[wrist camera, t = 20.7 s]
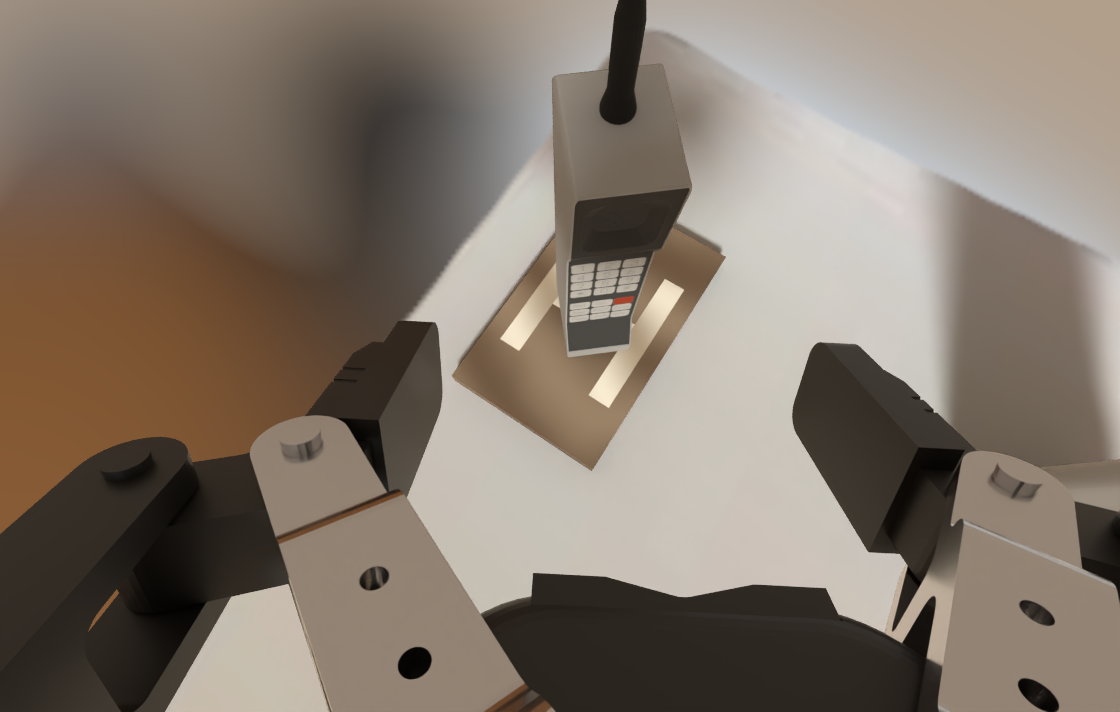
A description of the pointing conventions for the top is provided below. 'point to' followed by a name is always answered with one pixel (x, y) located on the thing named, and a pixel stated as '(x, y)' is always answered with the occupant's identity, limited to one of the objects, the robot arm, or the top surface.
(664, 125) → the vintage mobile phone
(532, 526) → the top surface
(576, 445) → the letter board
